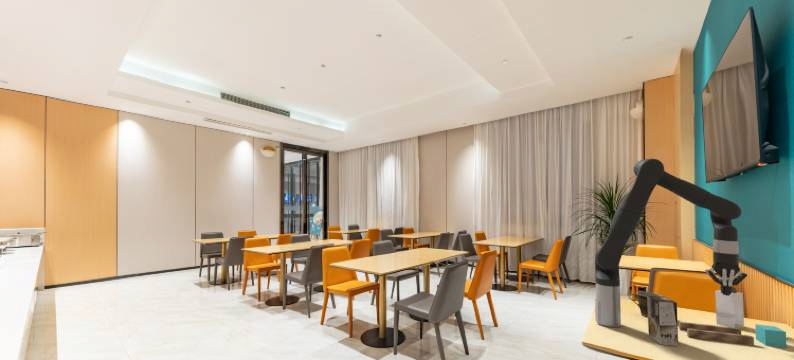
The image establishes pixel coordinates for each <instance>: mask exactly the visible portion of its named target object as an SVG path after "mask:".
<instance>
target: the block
mask: <svg viewBox="0 0 794 360" xmlns="http://www.w3.org/2000/svg"><path fill="white" fill-rule="evenodd" d="M754 325H755V341H758V342H759V343H761V344H762V345H764V346H767V347H776V348H784V349H787V347H788V345H787V332H786V331H785V330H783V329H781V328H779V327H777V326H774V325H764V324H759V323H758V324H757V323H756V324H754Z"/></svg>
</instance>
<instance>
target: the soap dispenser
mask: <svg viewBox="0 0 794 360" xmlns="http://www.w3.org/2000/svg"><path fill="white" fill-rule="evenodd" d="M717 278H718V279H719V277H717ZM719 280H720V279H719ZM743 295H744V293H743V292H739V291H737V288H736V287H734V286H732V287H731V294H730V296H727V295H723V294H722V293H721V289H719V290H715V317H716V319H715V320H716V325H719V326H723V327H732V328H739V327H742V328H744V327H745V315H744V296H743ZM743 326H744V327H743ZM739 329H740V328H739Z"/></svg>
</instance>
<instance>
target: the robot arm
mask: <svg viewBox="0 0 794 360" xmlns="http://www.w3.org/2000/svg"><path fill="white" fill-rule="evenodd" d="M633 173H634V175H635V180H634V183H633V184H632V187H631V188H630V190H629V191H628V192H627V194H625V196H624V197H623V198H622V199H621V201H620V202H619V203H618V206H617V208H616V210H615V213H613V214H614V215H613V217H612V220H611V223H610V227H609V231H608V234H607V237H606V239H605V241H604V242H603V244H602V246H601V247H600V248H598V249H597V250H596V252H595V254H594V264H595V265H594V267H595V268H594V269H595V270H594V271H595V272H594V273H595V274H594V275H595V299H594V309H595V310H594V311H595V312H594V313H595V314H594V315H595V322H596V323H597V325H601V326H604V327H609V328H619V327H621V326H622V318H621V317H622V316H621V315H622V314H621V312H622V311H621V280H620V279H621V278H620V262H621V259H622V256H623V253H624V250H625V247H626V245H627V243H628V241H629V239H630V238H631V236H632V235H633V234H634V231H635V230H636V228H637V226H638V224H639V222H640V220H641V218H642V216H643V214H644V211H645V209H646V207H647V204H648V203H649V199H650V197H651V195H652V192H653V191H654V189H655V188H656V186H659V187H660V188H663V189H666V190H668V191H669V192H671V193H673V194H675V196H676V195H677V196H678V197H680V198H682V199H684V200H685V201H687V202H689V203H691V204H693V205H694V206H696V207H699V208H701V209H705V210H708V211H709V216H710V219H711V220H710V221H711V224H712V228H713V242H712V264H711V267H710V268H709V269H705V270H704V271H705V273H706V274H707V275H708V276H709V277H710V278H711V279H712V281H713V282H714V283H716V284H718V285H720V290H721V293H722V294H723V295H727V296H730V294H731V287H734V286H738V285H739V284H740V283H742V282H743V281H744V280H745V279H746V278H747V276H748V274H747V273H745V272H743V271H742V270H741V268H740V266H739V264H740V261H739V260H740V259H739V257H740V254H739V252H740V251H739V248H740V247H739V242H738V240H739V238H738V228H736V226H734V225H733V223H732V220H736V219H738V218H740V216H741V215H742V208H741V207H740V206H739V205H738V204H737V203H735V202H733V201H732V200H730V199H726V198H724V197H722V196H719V195H716V194H713V193H712V192H710V191H708V190H707V189H706V188H705V189H704V188H703V187H700V186H699V185H697V184H694V183H692V182H689V181H687V180H685V179H682V178H680V177H678V176H675V175H673V174H671V173H669V172H667V171H666V170H665V166H664V163H663V162H662V161H661V160H659V159H657V158H645V159H641V160H639V161H637V162H636V163H635V164H634V166H633ZM715 274H717V276H718V277H717V276H716V275H715ZM718 278H719V279H720V280H719V279H718Z"/></svg>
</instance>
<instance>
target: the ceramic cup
mask: <svg viewBox="0 0 794 360" xmlns="http://www.w3.org/2000/svg"><path fill="white" fill-rule="evenodd" d="M631 296H634V297H635V298H636V300H637V302H638V303H637V302H636V301H635V300H634V299H632V298H631ZM647 296H662V295H661V294H658V293H655V292H649V291H637V292H636V293H630V294H629V295H628V298H629V299H630V300H631V301H632V302H634V304H635V305H637V307H638V308H639V311H640V314H641V316H642V317H645V318H648V306H647Z"/></svg>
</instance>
